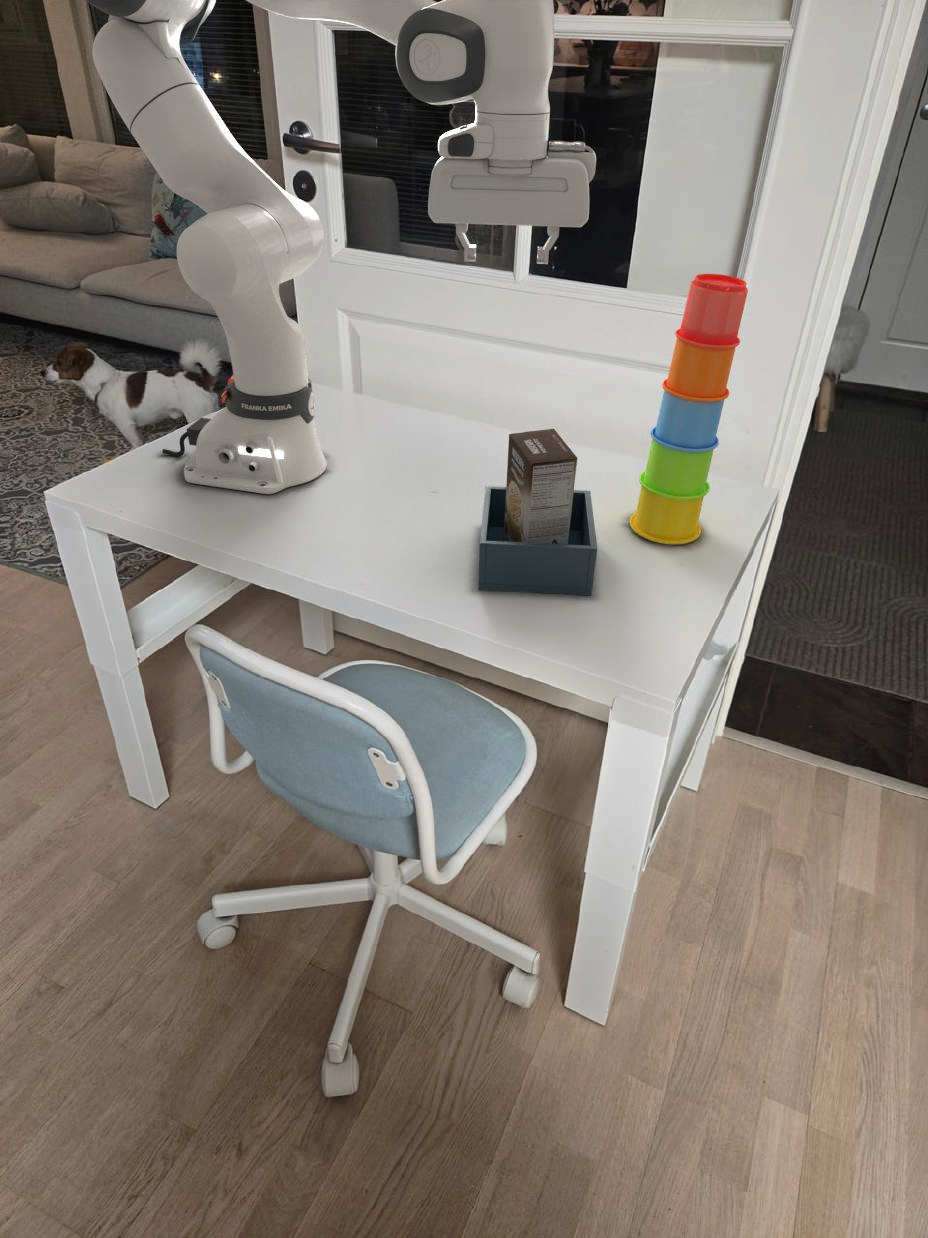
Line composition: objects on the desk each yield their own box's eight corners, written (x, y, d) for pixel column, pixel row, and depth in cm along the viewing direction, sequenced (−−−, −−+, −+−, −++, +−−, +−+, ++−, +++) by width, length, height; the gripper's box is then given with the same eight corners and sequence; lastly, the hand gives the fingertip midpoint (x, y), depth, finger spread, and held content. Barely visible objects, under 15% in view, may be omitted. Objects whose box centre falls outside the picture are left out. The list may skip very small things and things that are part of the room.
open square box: (478, 589, 106) (479, 543, 102) (484, 529, 118) (485, 485, 114) (591, 595, 105) (597, 549, 101) (585, 534, 118) (590, 490, 114)
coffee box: (501, 539, 114) (506, 431, 105) (544, 534, 116) (553, 426, 106) (522, 574, 107) (530, 462, 98) (568, 568, 108) (580, 456, 99)
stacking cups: (628, 508, 124) (666, 267, 104) (697, 515, 123) (749, 271, 102) (629, 543, 116) (670, 288, 95) (703, 550, 115) (760, 293, 94)
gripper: (596, 138, 101) (584, 258, 109) (430, 134, 102) (431, 253, 110) (599, 144, 96) (587, 270, 104) (425, 140, 97) (426, 264, 105)
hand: (506, 261), depth 107 cm, fingers open, 8 cm apart
